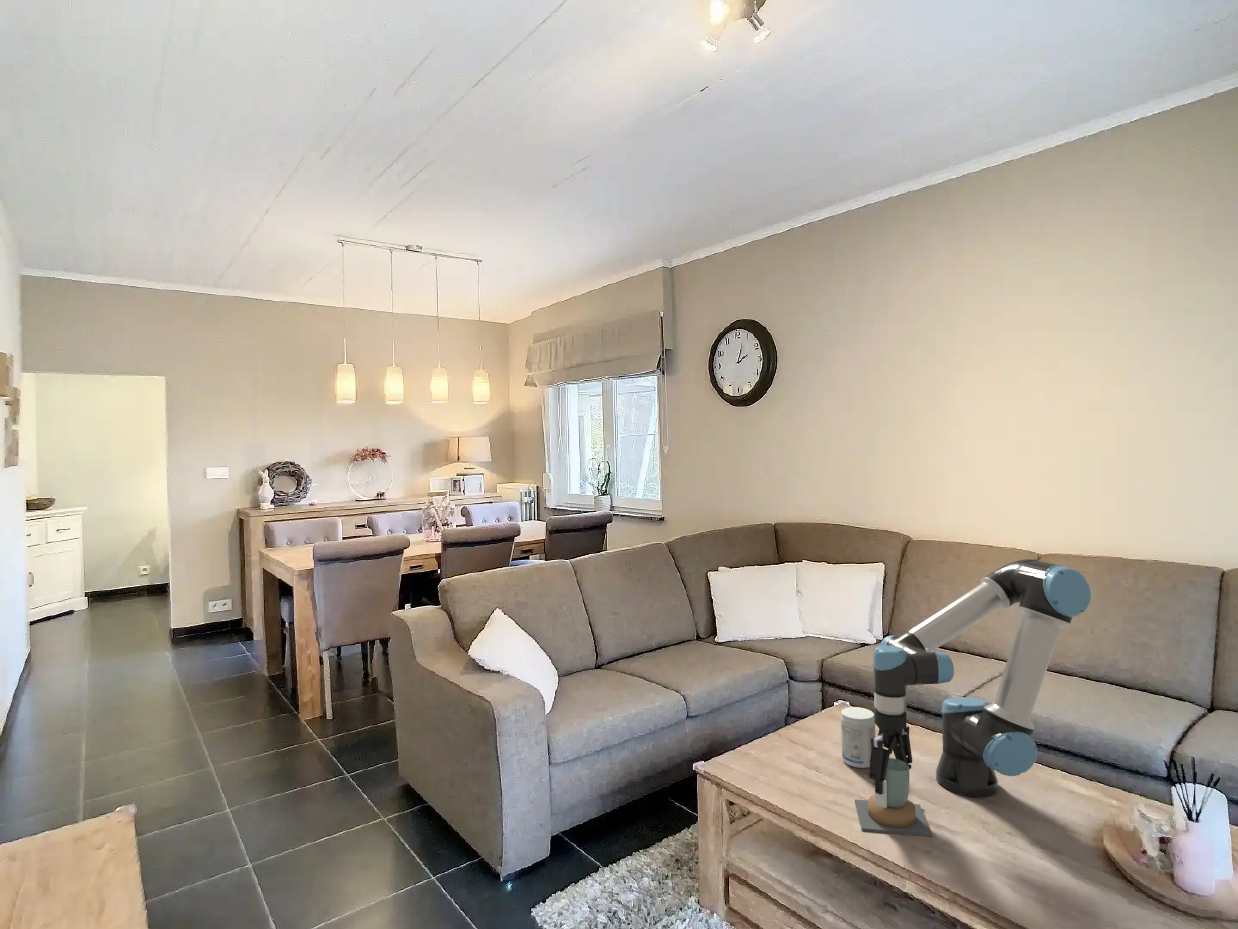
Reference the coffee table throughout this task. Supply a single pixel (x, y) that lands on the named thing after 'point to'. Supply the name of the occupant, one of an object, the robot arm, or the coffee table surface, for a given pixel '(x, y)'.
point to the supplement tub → (857, 736)
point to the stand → (892, 818)
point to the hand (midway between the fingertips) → (891, 799)
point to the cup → (897, 783)
